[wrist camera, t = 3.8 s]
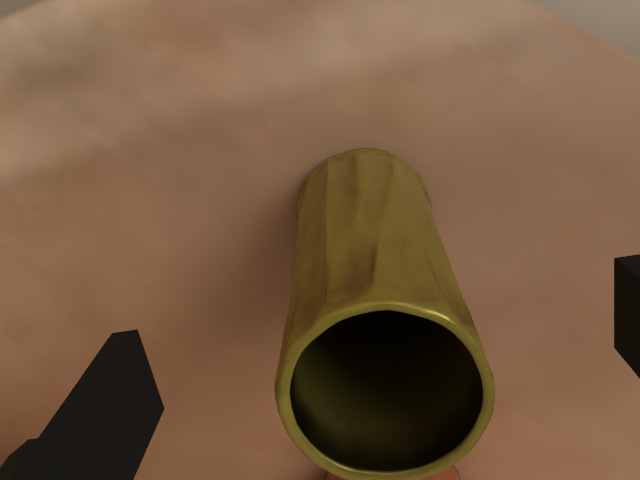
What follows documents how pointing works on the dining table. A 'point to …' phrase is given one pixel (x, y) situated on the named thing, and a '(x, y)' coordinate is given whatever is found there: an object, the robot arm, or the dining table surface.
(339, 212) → the vase
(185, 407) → the dining table surface
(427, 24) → the dining table surface
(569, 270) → the dining table surface
